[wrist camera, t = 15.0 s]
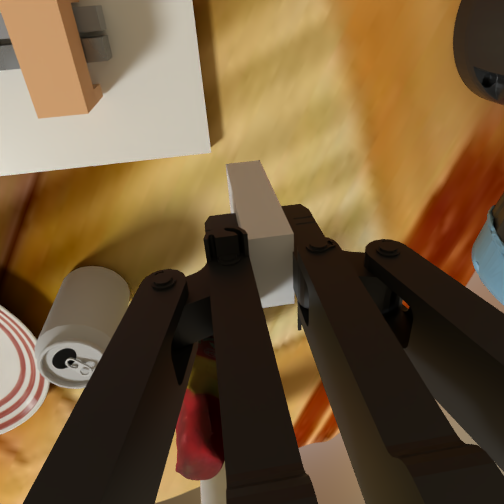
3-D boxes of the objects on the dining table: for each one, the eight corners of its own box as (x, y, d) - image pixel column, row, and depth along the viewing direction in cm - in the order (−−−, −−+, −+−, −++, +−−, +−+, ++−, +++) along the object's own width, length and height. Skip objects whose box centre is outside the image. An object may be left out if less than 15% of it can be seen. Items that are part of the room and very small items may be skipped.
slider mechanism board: (185, -56, 31) (184, -68, 25) (210, 147, 39) (214, 171, 34) (-217, -29, 28) (-313, -36, 23) (-96, 181, 37) (-144, 212, 32)
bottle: (145, 315, 49) (125, 477, 33) (175, 281, 47) (170, 435, 30) (221, 352, 55) (237, 508, 38) (251, 322, 52) (282, 474, 36)
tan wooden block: (75, -14, 30) (51, -17, 24) (103, 96, 34) (88, 113, 29) (26, -11, 29) (-8, -13, 24) (60, 100, 34) (38, 118, 28)
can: (82, 250, 43) (50, 325, 33) (143, 280, 47) (131, 357, 36) (51, 296, 46) (13, 378, 36) (111, 321, 49) (92, 404, 39)
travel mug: (188, 414, 61) (189, 572, 44) (225, 396, 60) (240, 551, 43) (211, 433, 64) (220, 587, 47) (246, 416, 63) (268, 567, 46)
